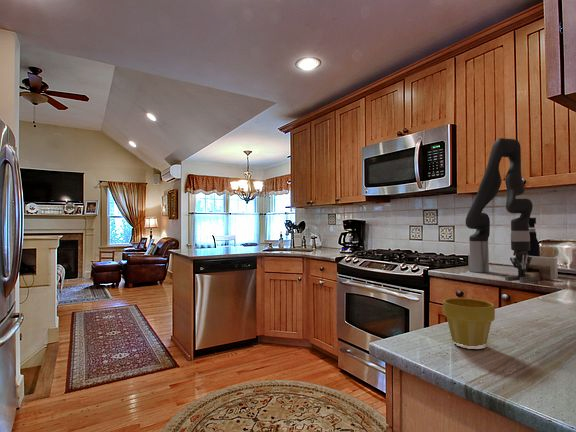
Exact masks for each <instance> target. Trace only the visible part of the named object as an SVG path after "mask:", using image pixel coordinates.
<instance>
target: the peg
mask: <svg viewBox="0 0 576 432" xmlns="http://www.w3.org/2000/svg"><path fill="white" fill-rule="evenodd" d="M530 277H540V272H536V271H535V272H526V273H525V277H520V279H522V278H530ZM520 279H519V280H520ZM539 281H542V280H541V279H540V280H539Z"/></svg>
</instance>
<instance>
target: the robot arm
mask: <svg viewBox="0 0 576 432" xmlns="http://www.w3.org/2000/svg"><path fill="white" fill-rule="evenodd" d="M520 143H521V142H519V140H518V139H514V138H506V137H505V138H504V137H503V138H502V137H500V138H497V139H496V140H495V141H494V142H493V145H492V146H491V150H490V155H489V156H488V157H489V158H488V162H487V165H486V168H485V171H484V173H483V177H482V179H481V182H480V183H479V186H478V190H477V192H476V195H475V198H474V200H473V202H472V203H471V206H470V209H469V211H468V212H467V215H466V217H465V226H466V228H468V229H470V230H475V232H474V233H473V234H471V235H469V239H468V240H469V253H468V254H467V256H468V257H467V260H468V262H467V263H468V271H469V272H470V273H471V272H472V273H484V274H485V273H489V272H490V257H489V253H490V252H489V237H490V235H491V234H490V233H491V229H490V228H491V220H490V216H489V214H487V213H486V212H483V211H484V209H485V207H486V206H487V205H488V204H489V203H491V201H493V199H494V198H495V197H496V196H497V195H498V193H499V191H500V188H501V186H502V176H501V173H500V172H501V171H500V164H501V163H500V162H501V160H502V158H508V160H509V168H508V171H507V172H506V174H505V177H504V178H505V179H504V183H505V187H506V191H507V193H506V200H505V201H506V202H505V209H506V211H507V212H508V213H510V214H520V215H519V216H518V217H517V218H513V219H511V220H510V230H511V231H510V249H511V251H513V253H512V255H513V256H512V257H510V258H509V260H510V262H511V265H512V266H513V267H514V268H516V269H517V272H518V273H517V275H518V276H519V277H525V269H526V267H527V268H528V266H529V264H530V261H531V259H532V257H529V256H528V251H529V250H530V234H529V229H530V228H529V219H530V218H531V214H532V212H533V206H534V205H533V203H532V201H531V199H529V198H516V197H517V196H521V195H523V194H524V193H525V185H524V182H523V176H522V154H521V153H522V151H521V148H522V147H521V144H520Z"/></svg>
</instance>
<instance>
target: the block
mask: <svg viewBox="0 0 576 432" xmlns="http://www.w3.org/2000/svg"><path fill="white" fill-rule="evenodd" d="M535 271H536V272H540V279H541V280H540V281H544V280H551V279H552V278H551V274H550V266H548V265H537V264H529V266H528V268H527V267H526V269H525V273H526V272H535Z"/></svg>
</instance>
